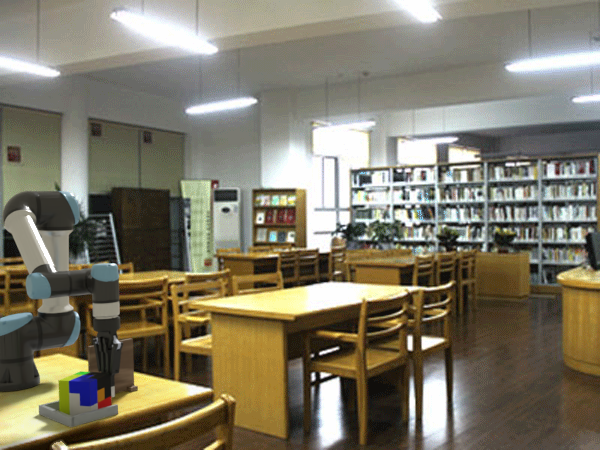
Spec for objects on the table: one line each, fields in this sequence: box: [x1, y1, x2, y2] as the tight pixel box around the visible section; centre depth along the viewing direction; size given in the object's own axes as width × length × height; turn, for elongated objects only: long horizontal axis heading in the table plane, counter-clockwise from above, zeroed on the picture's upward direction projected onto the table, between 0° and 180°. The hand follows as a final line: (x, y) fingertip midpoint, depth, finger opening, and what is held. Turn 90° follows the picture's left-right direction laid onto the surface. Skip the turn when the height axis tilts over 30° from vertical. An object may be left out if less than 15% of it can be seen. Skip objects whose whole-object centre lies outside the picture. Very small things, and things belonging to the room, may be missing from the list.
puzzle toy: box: [58, 371, 113, 416], centre depth 175 cm, size 10×10×10 cm
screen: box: [87, 337, 139, 394], centre depth 192 cm, size 6×15×16 cm, turn 138°
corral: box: [38, 399, 119, 428], centre depth 173 cm, size 18×14×2 cm
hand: (109, 397), depth 180 cm, fingers closed
